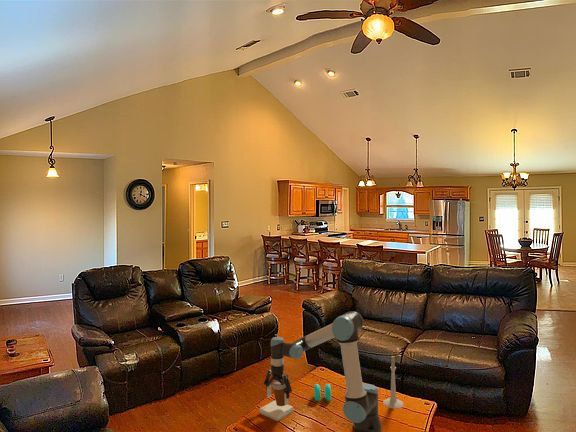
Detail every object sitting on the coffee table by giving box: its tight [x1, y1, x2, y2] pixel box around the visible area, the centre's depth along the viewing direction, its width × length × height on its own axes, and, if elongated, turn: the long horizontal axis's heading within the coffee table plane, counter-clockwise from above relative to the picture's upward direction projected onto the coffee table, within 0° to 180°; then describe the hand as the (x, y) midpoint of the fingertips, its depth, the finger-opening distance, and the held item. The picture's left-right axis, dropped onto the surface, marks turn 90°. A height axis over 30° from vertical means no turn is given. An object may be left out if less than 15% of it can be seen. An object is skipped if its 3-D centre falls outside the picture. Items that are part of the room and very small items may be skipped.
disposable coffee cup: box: [271, 380, 288, 406], centre depth 238 cm, size 10×10×12 cm
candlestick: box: [382, 355, 404, 410], centre depth 249 cm, size 13×13×30 cm
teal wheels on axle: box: [313, 383, 332, 402], centre depth 256 cm, size 10×10×10 cm
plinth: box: [259, 399, 294, 422], centre depth 241 cm, size 14×14×3 cm
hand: (277, 400), depth 240 cm, fingers open, 13 cm apart
